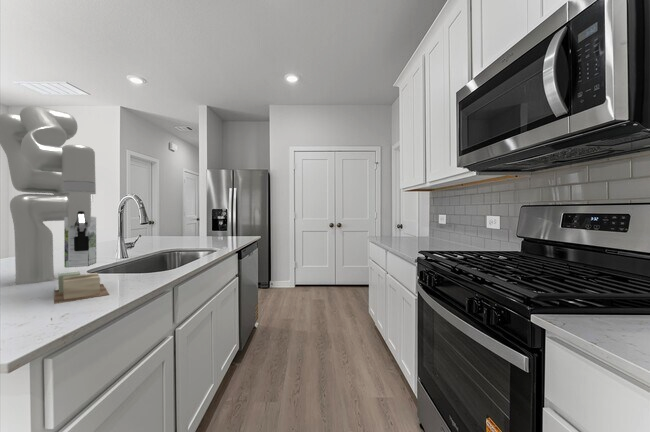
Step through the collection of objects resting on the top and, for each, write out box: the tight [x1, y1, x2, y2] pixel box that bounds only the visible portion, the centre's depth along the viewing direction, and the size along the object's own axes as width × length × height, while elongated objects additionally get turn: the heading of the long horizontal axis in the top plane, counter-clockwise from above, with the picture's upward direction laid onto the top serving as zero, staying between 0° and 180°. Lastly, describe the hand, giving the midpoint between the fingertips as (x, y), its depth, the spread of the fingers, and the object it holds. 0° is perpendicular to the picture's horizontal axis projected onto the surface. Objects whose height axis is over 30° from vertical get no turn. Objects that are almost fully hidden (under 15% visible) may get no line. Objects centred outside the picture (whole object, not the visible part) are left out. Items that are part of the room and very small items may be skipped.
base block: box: [63, 272, 101, 300], centre depth 88 cm, size 8×8×5 cm
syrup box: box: [63, 215, 97, 269], centre depth 88 cm, size 6×6×14 cm
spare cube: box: [57, 271, 81, 293], centre depth 93 cm, size 5×5×5 cm
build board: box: [53, 283, 110, 305], centre depth 90 cm, size 18×12×2 cm, turn 42°
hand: (80, 249), depth 88 cm, fingers closed on syrup box, 7 cm apart
